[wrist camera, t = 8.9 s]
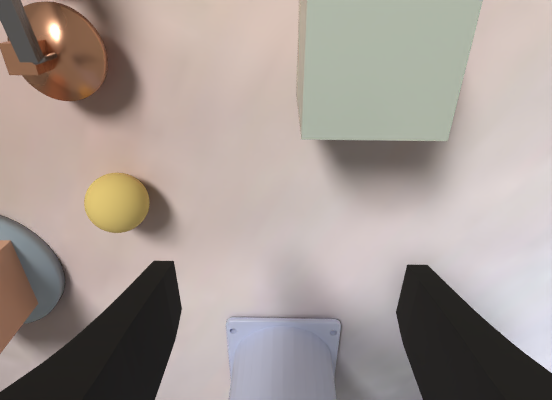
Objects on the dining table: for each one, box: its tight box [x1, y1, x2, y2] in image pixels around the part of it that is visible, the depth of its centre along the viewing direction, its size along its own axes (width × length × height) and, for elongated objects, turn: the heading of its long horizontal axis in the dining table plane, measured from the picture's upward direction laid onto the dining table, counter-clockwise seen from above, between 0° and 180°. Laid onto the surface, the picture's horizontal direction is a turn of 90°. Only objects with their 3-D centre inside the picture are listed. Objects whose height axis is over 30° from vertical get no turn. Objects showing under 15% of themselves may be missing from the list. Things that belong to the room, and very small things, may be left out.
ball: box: [84, 173, 149, 233], centre depth 20 cm, size 3×3×3 cm
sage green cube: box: [296, 0, 483, 141], centre depth 15 cm, size 5×5×6 cm
